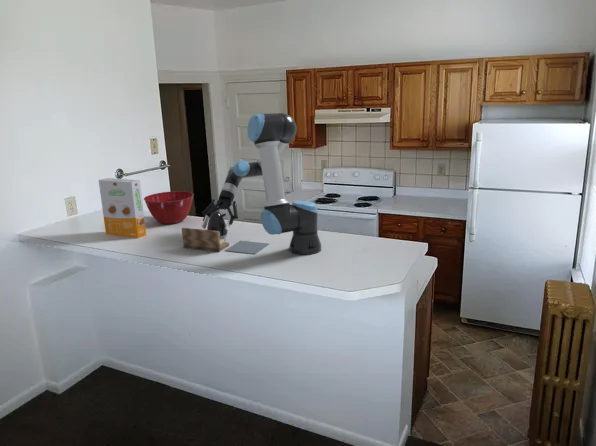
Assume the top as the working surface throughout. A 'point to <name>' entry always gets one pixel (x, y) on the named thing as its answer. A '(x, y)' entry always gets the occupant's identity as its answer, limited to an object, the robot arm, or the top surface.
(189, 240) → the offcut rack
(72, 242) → the top surface
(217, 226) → the black and white ovoid
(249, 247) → the slate mat
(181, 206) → the mixing bowl
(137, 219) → the cereal box
